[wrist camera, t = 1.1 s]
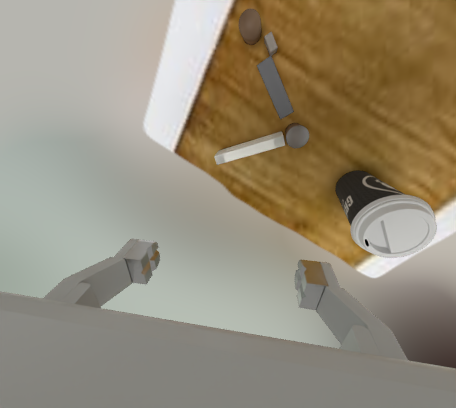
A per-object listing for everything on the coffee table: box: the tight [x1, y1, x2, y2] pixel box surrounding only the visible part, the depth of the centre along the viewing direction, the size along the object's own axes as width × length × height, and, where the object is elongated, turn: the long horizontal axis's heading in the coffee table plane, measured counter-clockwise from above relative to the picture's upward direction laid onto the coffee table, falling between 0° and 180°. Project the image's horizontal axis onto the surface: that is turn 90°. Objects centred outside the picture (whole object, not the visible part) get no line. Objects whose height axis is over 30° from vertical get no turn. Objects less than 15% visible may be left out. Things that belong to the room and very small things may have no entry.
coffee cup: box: [336, 171, 437, 258], centre depth 32 cm, size 10×10×15 cm
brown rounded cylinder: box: [239, 9, 278, 56], centre depth 28 cm, size 4×5×5 cm, turn 31°
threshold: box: [257, 56, 294, 119], centre depth 32 cm, size 2×9×1 cm, turn 31°
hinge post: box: [285, 123, 309, 148], centre depth 33 cm, size 3×3×5 cm
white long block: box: [214, 131, 285, 165], centre depth 35 cm, size 12×2×4 cm, turn 109°
